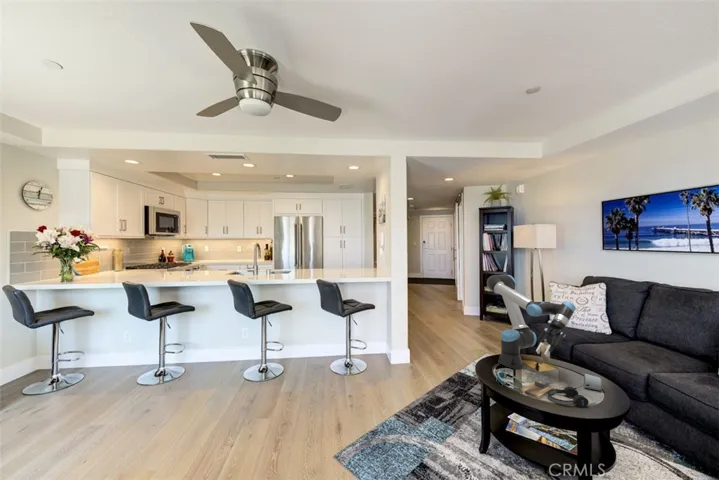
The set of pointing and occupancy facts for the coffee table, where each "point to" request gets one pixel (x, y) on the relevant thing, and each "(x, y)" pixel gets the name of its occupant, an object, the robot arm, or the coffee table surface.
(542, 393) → the plywood panel
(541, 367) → the coffee table surface
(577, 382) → the coffee table surface
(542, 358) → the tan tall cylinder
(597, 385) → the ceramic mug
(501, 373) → the sunglasses
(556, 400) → the headset
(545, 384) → the block
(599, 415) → the coffee table surface
